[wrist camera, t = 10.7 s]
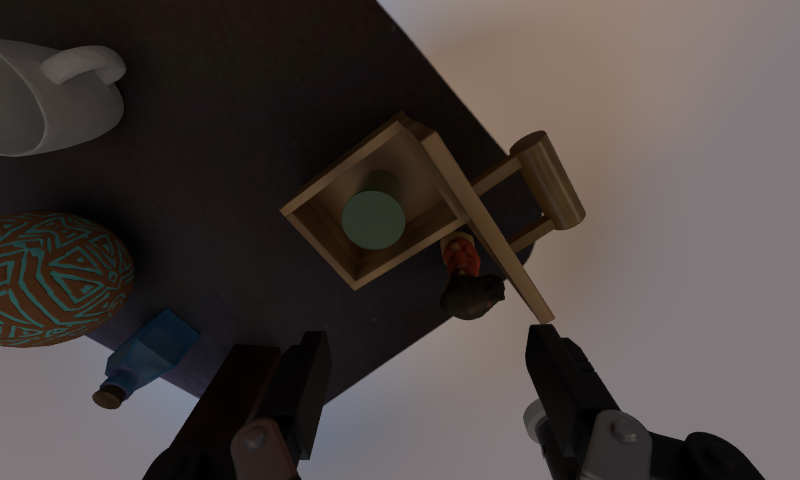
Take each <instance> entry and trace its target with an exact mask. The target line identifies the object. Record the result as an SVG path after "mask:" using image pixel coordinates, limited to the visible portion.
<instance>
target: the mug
mask: <svg viewBox="0 0 800 480" xmlns="http://www.w3.org/2000/svg"><path fill="white" fill-rule="evenodd" d="M126 70H127V69H126V66H125V63H124V61H123V60H122V58H121V57H120V56H119V55H118V54H117V53H116V52H115V51H114V50H112V49H110V48H108V47H104V46H99V45H97V46H82V47H77V48H72V49H68V50H64V51H61V50H57V49H53V48H49V47H44V46H39V45H34V44H29V43H24V42H19V41H10V40H1V39H0V155H3V156H11V157H17V156H28V155H34V154H40V153H46V152H50V151H55V150H59V149H63V148H68V147H71V146H74V145H77V144H80V143H83V142H86V141H89V140H92V139H94V138H97V137H99V136H101V135H102V134H104V133H106V132H107V131H109V130H111V129H113V128H114V127H115V126H116V125H117V124H118V122H119V121H120V119H121V118H122V116H123V113H124V105H123V99H122V97H121V94H120V92H119V90H118V88H117V86H116V85H115V83H114V82H115V81H117V80H119V79H120V78H121V77H122V76H123V75H124V74H125V72H126Z"/></svg>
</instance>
